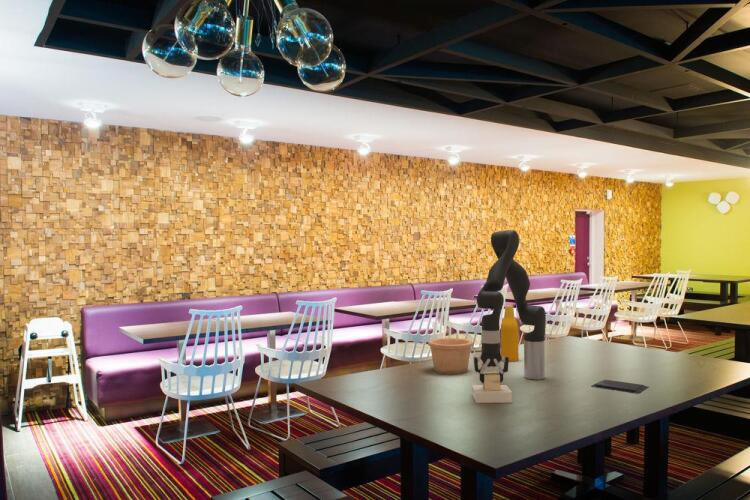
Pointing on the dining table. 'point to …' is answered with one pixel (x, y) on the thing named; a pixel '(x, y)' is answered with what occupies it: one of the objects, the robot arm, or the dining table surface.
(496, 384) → the maple cube
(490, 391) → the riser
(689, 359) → the dining table surface
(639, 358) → the dining table surface
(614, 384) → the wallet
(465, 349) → the pottery
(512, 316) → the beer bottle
